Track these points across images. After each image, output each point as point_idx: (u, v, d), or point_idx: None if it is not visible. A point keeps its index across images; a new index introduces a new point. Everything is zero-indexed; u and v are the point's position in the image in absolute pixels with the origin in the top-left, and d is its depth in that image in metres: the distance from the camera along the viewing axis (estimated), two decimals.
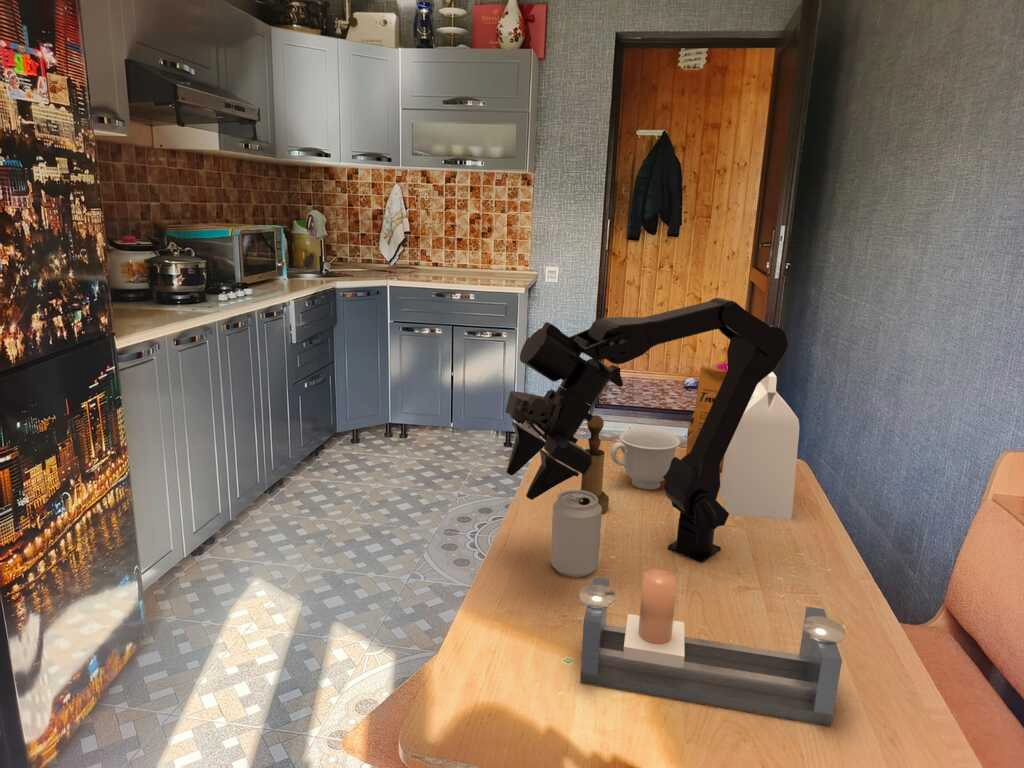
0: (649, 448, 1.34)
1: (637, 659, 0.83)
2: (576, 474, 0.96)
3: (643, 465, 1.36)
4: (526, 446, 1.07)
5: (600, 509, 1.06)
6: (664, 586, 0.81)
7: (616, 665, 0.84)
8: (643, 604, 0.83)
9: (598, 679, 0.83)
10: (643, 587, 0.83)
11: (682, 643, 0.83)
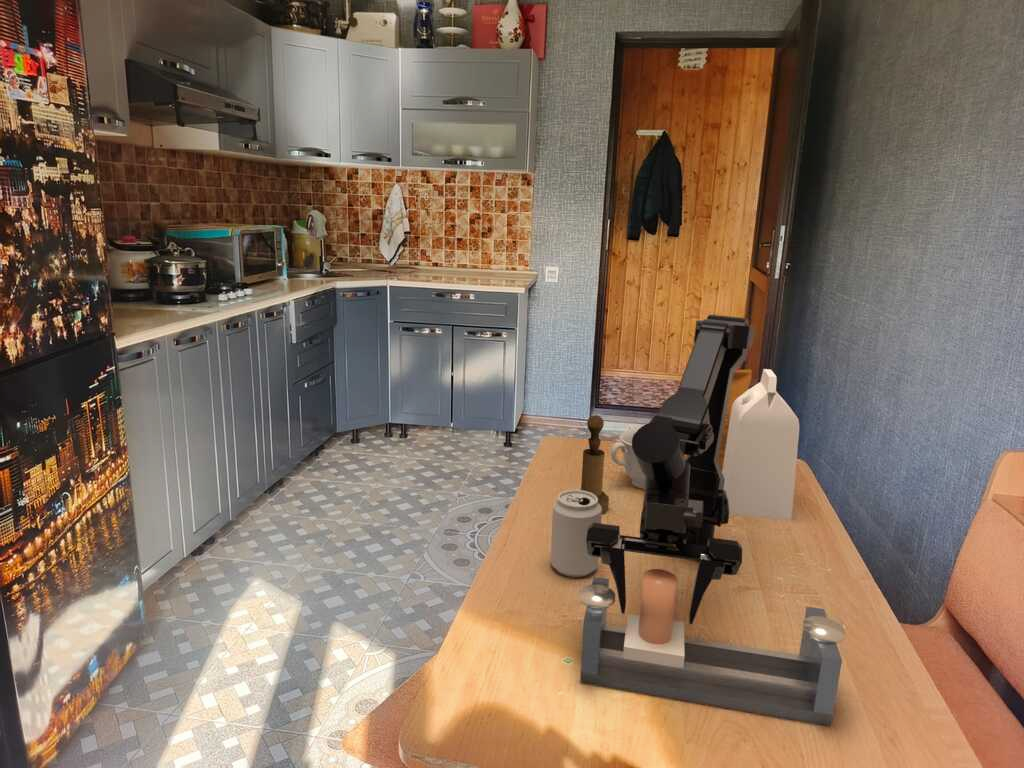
0: None
1: (637, 659, 0.83)
2: None
3: None
4: None
5: (600, 509, 1.06)
6: (664, 586, 0.81)
7: (616, 665, 0.84)
8: (643, 604, 0.83)
9: (598, 679, 0.83)
10: (643, 587, 0.83)
11: (682, 643, 0.83)
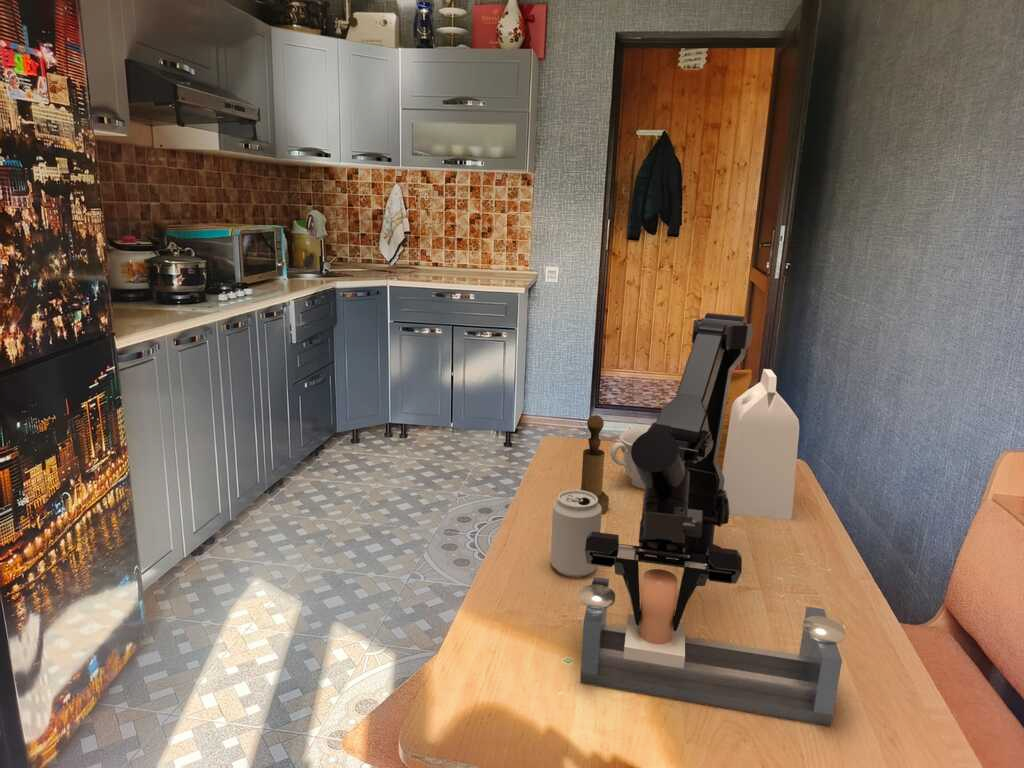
0: None
1: (637, 659, 0.82)
2: None
3: None
4: None
5: (600, 509, 1.06)
6: (664, 586, 0.81)
7: (616, 665, 0.84)
8: (643, 604, 0.83)
9: (598, 679, 0.83)
10: (643, 587, 0.83)
11: (682, 643, 0.83)
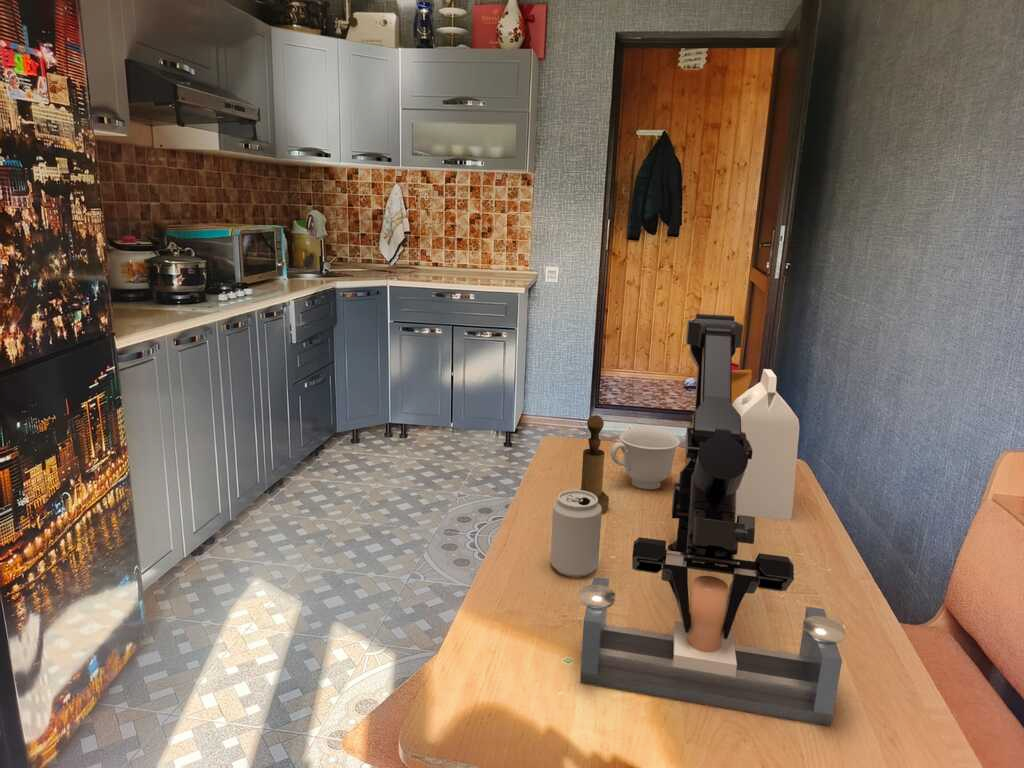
0: (649, 448, 1.34)
1: (688, 667, 0.81)
2: None
3: (643, 465, 1.36)
4: None
5: (600, 509, 1.06)
6: (715, 593, 0.80)
7: (616, 665, 0.84)
8: (693, 611, 0.82)
9: (598, 679, 0.83)
10: (693, 594, 0.82)
11: (733, 651, 0.82)
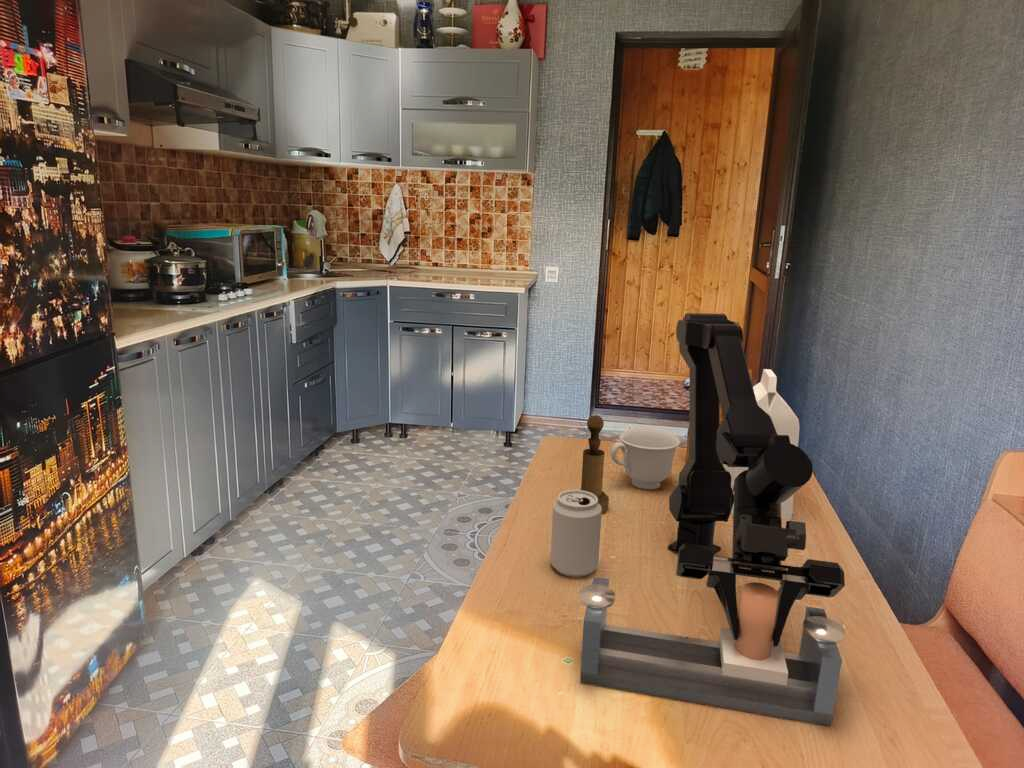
0: (649, 448, 1.34)
1: (737, 675, 0.80)
2: None
3: (643, 465, 1.36)
4: None
5: (600, 509, 1.06)
6: (766, 600, 0.79)
7: (616, 665, 0.84)
8: (743, 618, 0.81)
9: (598, 679, 0.83)
10: (743, 601, 0.81)
11: (783, 659, 0.81)
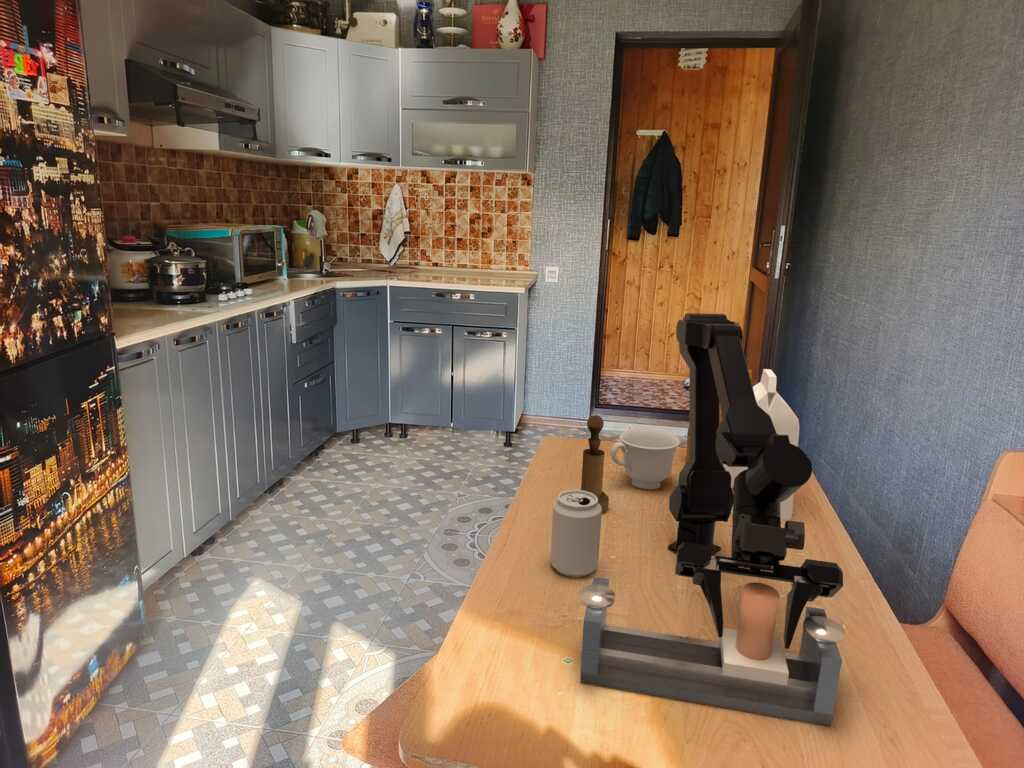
0: (649, 448, 1.34)
1: (738, 676, 0.80)
2: None
3: (643, 465, 1.36)
4: None
5: (600, 509, 1.06)
6: (767, 601, 0.79)
7: (616, 665, 0.84)
8: (743, 619, 0.81)
9: (598, 679, 0.83)
10: (744, 601, 0.81)
11: (783, 659, 0.81)
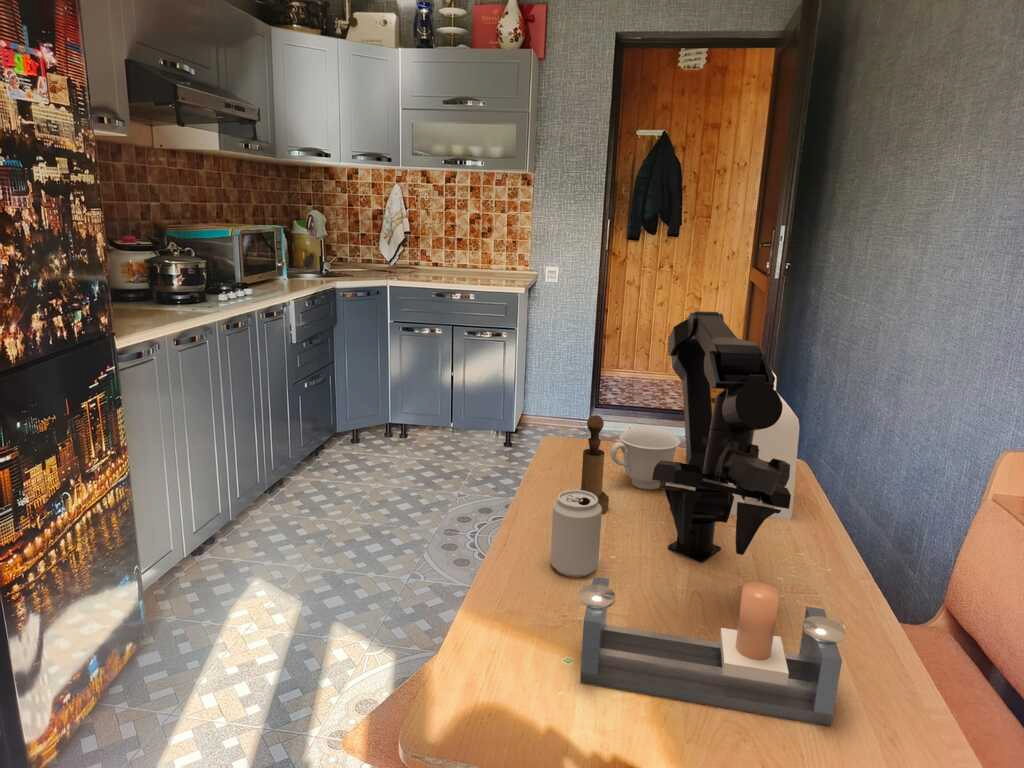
0: (649, 448, 1.34)
1: (738, 676, 0.80)
2: None
3: (643, 465, 1.36)
4: None
5: (600, 509, 1.06)
6: (767, 601, 0.79)
7: (616, 665, 0.84)
8: (743, 619, 0.81)
9: (598, 679, 0.83)
10: (744, 601, 0.81)
11: (783, 659, 0.81)
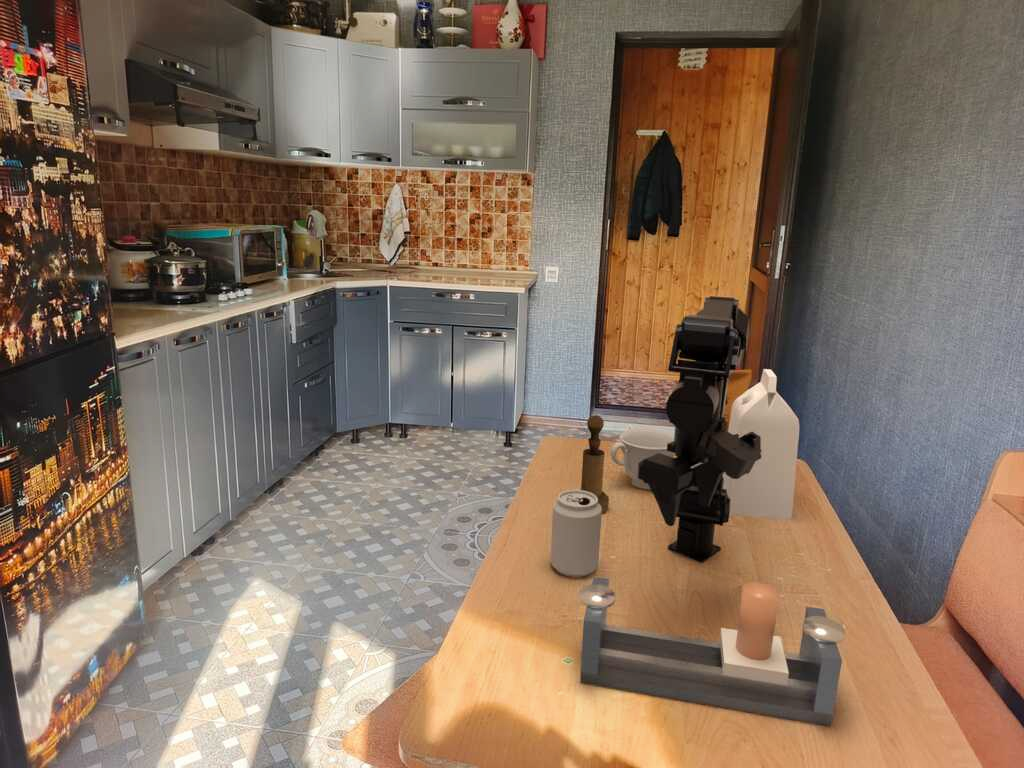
0: (649, 448, 1.34)
1: (738, 676, 0.80)
2: None
3: None
4: None
5: (600, 509, 1.06)
6: (767, 601, 0.79)
7: (616, 665, 0.84)
8: (743, 619, 0.81)
9: (598, 679, 0.83)
10: (744, 601, 0.81)
11: (783, 659, 0.81)
